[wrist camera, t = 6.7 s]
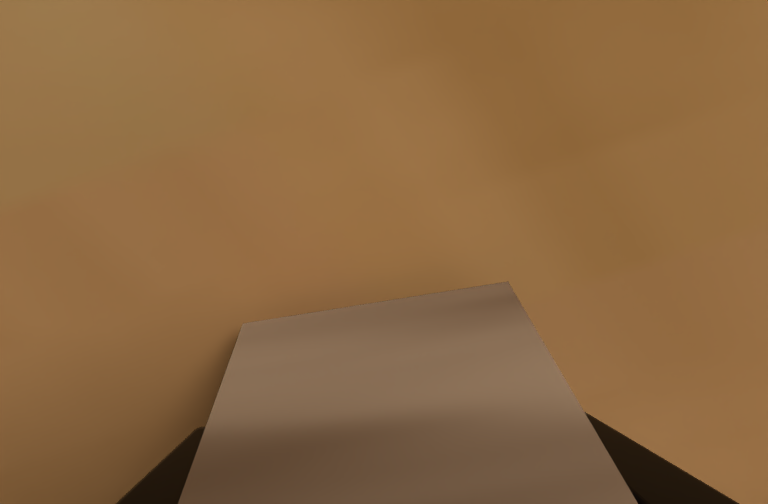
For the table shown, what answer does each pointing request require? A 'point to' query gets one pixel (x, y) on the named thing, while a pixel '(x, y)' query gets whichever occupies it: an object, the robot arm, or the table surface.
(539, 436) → the taupe block mallet
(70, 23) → the table surface
